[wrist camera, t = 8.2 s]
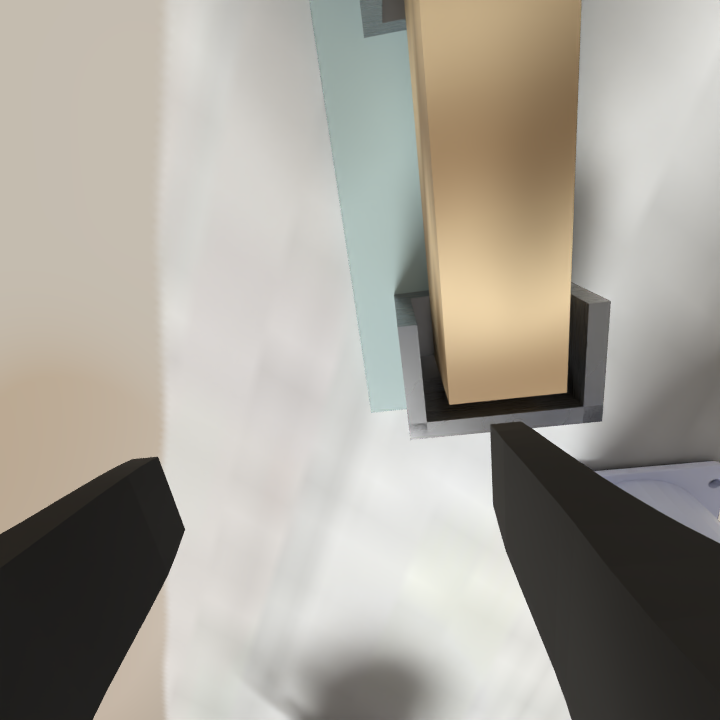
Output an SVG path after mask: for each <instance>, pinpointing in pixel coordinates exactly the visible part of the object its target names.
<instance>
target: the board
mask: <svg viewBox="0 0 720 720" xmlns="http://www.w3.org/2000/svg"><path fill="white" fill-rule="evenodd" d="M309 2H310V9H311V16H312V22H313V29H314V36H315V42H316V49H317V55H318V62H319V69H320V75H321V82H322V89H323V95H324V102H325V108H326V115H327V122H328V128H329V135H330V142H331V148H332V155H333V161H334V168H335V175H336V181H337V188H338V195H339V201H340V208H341V214H342V221H343V228H344V234H345V241H346V248H347V254H348V261H349V267H350V274H351V281H352V287H353V294H354V301H355V307H356V314H357V321H358V327H359V334H360V340H361V347H362V354H363V360H364V367H365V374H366V380H367V387H368V393H369V400H370V407H371V413H373V412H382V411H392V410H402V409H407V405H406V397H405V388H404V379H403V371H402V362H401V354H400V345H399V336H398V328H397V319H396V310H395V301H394V295H395V294H403V293H410V292H418V291H426V290H429V285H428V273H427V262H426V250H425V238H424V226H423V215H422V203H421V191H420V180H419V168H418V156H417V145H416V133H415V121H414V109H413V98H412V86H411V74H410V63H409V51H408V39H407V30H403V31H398V32H393V33H388V34H383V35H377V36H372V37H367V38H364V34H363V25H362V17H361V8H360V0H309Z"/></svg>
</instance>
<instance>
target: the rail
mask: <svg viewBox="0 0 720 720" xmlns="http://www.w3.org/2000/svg"><path fill="white" fill-rule="evenodd" d="M404 4H405V16H406V27H407V39H408V51H409V63H410V74H411V86H412V98H413V109H414V121H415V133H416V145H417V156H418V168H419V180H420V191H421V203H422V215H423V226H424V238H425V250H426V262H427V273H428V285H429V297H430V308H431V320H432V332H433V344H434V355H435V360H436V363H437V367H438V370H439V373H440V376H441V379H442V382H443V386H444V389H445V392H446V395H447V398H448V401H449V405H452V404H462V403H471V402H481V401H491V400H501V399H510V398H520V397H530V396H539V395H549V394H559V393H567V376H568V349H569V322H570V295H571V268H572V241H573V214H574V187H575V160H576V133H577V106H578V79H579V53H580V26H581V0H404Z"/></svg>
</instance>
